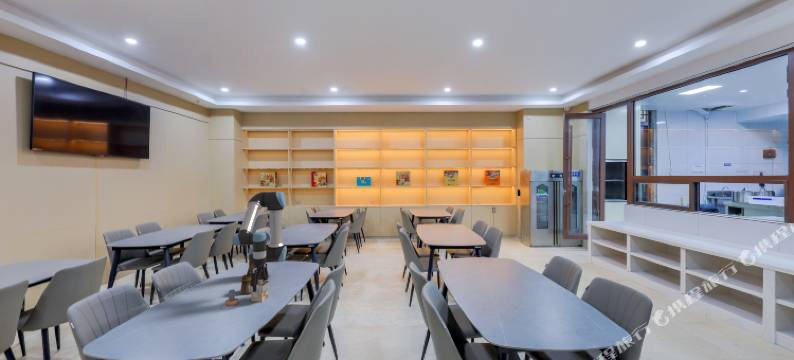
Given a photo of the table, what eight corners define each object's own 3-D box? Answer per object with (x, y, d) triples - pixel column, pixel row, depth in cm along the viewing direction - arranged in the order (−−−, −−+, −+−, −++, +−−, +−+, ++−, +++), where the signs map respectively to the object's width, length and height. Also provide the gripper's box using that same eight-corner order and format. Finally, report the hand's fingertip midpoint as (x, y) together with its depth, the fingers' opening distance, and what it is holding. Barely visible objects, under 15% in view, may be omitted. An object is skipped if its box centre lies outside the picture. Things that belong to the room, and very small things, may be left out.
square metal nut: (256, 286, 194) (256, 280, 194) (270, 287, 193) (270, 280, 193) (248, 292, 185) (248, 285, 185) (262, 292, 184) (262, 286, 184)
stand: (257, 296, 193) (257, 279, 193) (268, 297, 192) (268, 279, 192) (251, 301, 186) (251, 283, 186) (262, 301, 185) (262, 283, 185)
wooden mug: (262, 287, 208) (261, 261, 208) (249, 295, 195) (248, 267, 195) (250, 286, 210) (250, 261, 210) (236, 294, 197) (236, 266, 196)
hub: (230, 300, 186) (230, 287, 186) (241, 301, 186) (241, 288, 186) (222, 305, 179) (222, 292, 179) (233, 306, 179) (233, 292, 178)
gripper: (263, 252, 200) (263, 287, 200) (243, 262, 178) (243, 300, 179) (274, 253, 199) (274, 287, 200) (255, 262, 178) (255, 301, 178)
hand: (259, 293), depth 189 cm, fingers closed on square metal nut, 9 cm apart
